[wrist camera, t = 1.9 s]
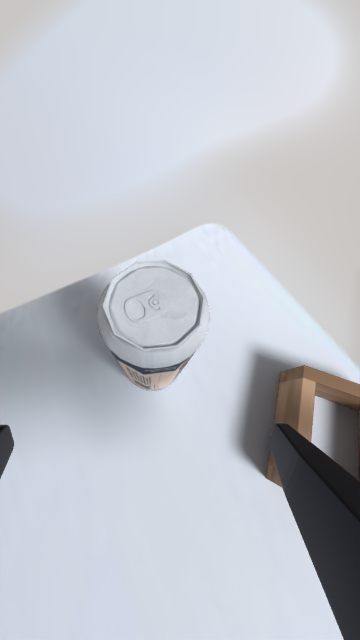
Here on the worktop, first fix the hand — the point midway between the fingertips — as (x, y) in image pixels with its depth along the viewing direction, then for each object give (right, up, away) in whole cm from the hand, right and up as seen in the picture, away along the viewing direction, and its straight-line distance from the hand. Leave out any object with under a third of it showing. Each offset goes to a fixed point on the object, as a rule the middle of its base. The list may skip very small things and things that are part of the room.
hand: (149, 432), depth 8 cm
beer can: (-1, 0, +12) cm, 12 cm away
